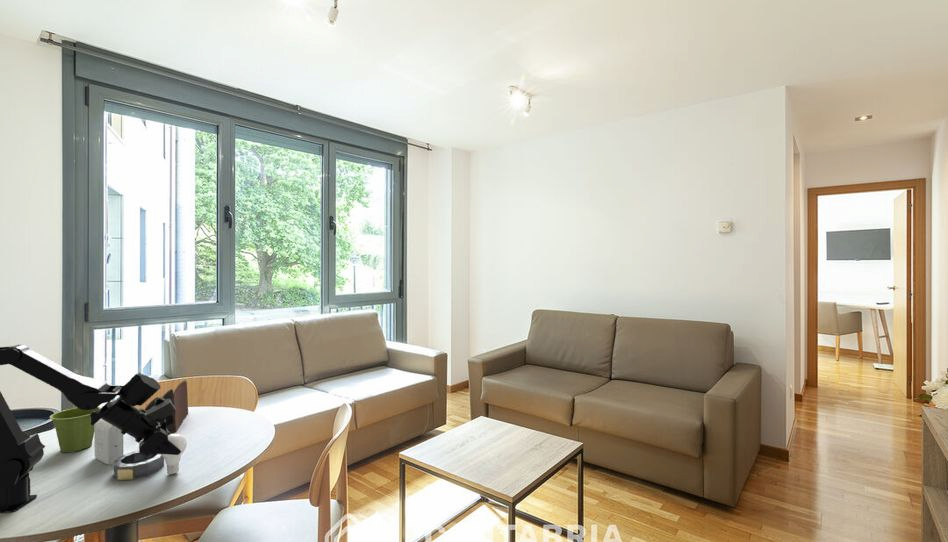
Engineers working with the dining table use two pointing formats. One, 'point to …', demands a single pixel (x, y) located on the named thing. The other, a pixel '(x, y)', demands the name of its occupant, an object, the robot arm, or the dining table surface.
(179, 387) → the letter holder
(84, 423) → the plant pot
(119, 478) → the roll of grey tape
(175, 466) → the lightbulb
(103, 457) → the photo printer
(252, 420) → the dining table surface
